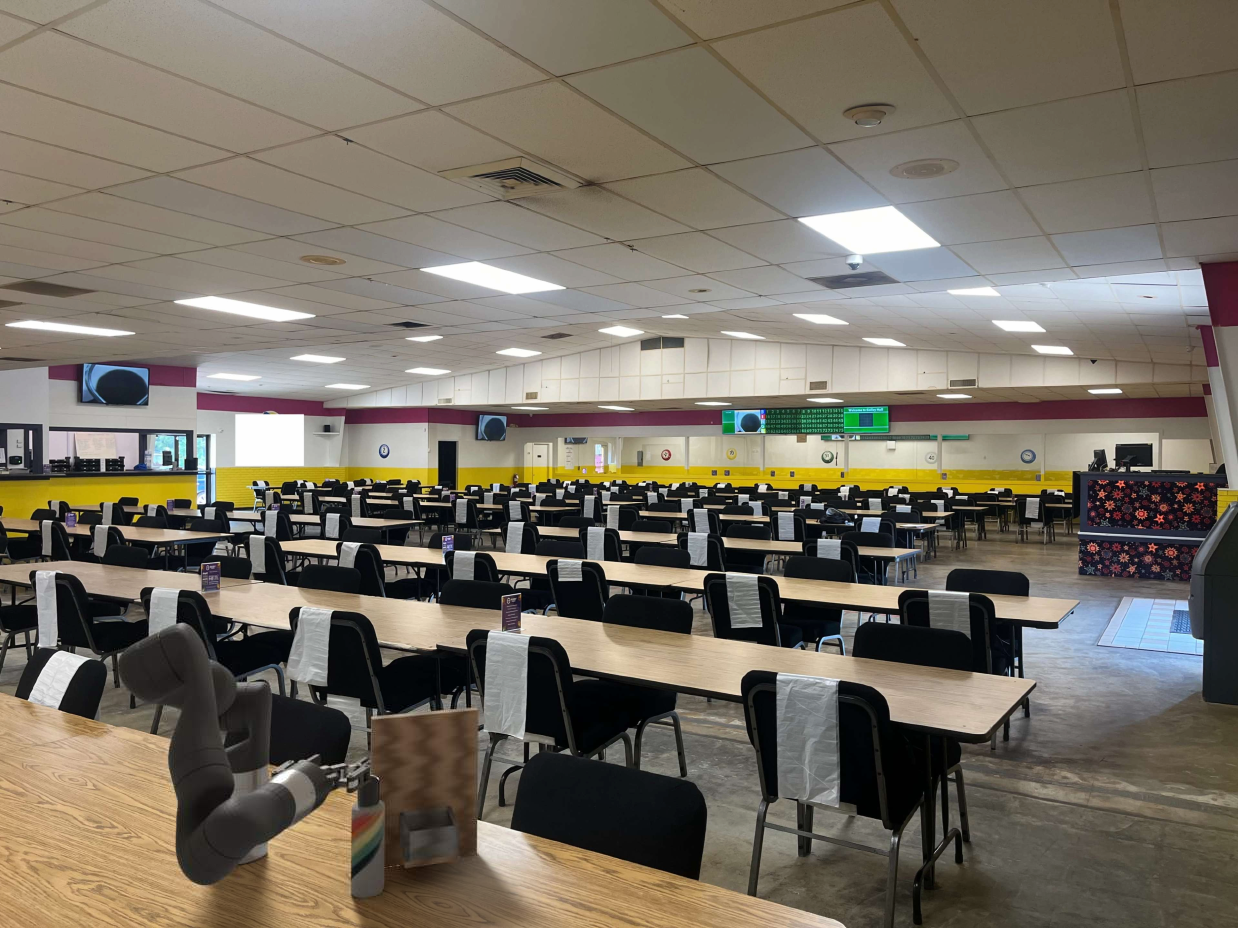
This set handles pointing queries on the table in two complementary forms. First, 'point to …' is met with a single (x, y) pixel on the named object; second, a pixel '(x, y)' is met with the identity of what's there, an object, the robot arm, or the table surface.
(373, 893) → the lotion bottle
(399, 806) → the bracket
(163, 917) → the table surface
